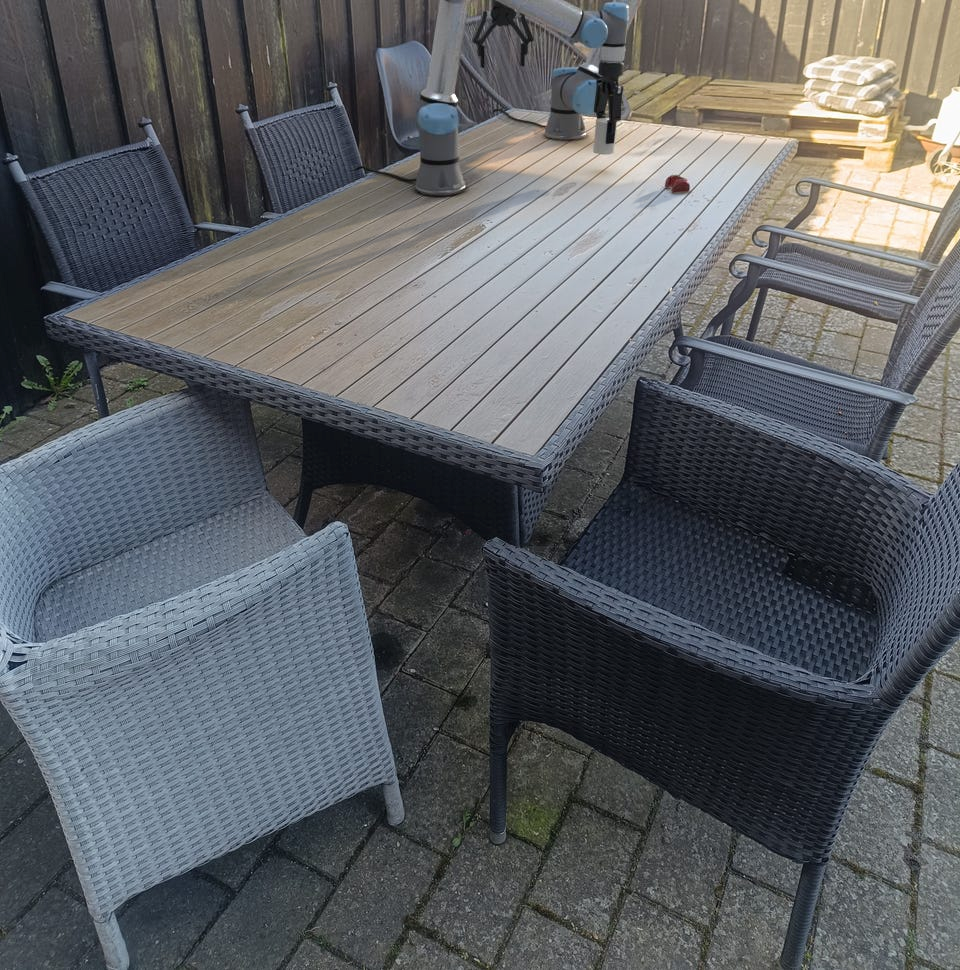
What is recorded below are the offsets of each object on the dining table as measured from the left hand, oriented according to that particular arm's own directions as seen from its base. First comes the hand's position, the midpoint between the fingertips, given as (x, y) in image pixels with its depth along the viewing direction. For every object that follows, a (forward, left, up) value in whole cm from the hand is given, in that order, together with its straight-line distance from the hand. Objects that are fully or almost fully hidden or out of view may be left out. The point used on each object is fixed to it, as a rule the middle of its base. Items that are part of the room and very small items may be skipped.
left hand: (604, 140), depth 269 cm
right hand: (-41, -1, +17) cm, 44 cm away
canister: (0, 0, -3) cm, 3 cm away
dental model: (+29, -3, -10) cm, 30 cm away
